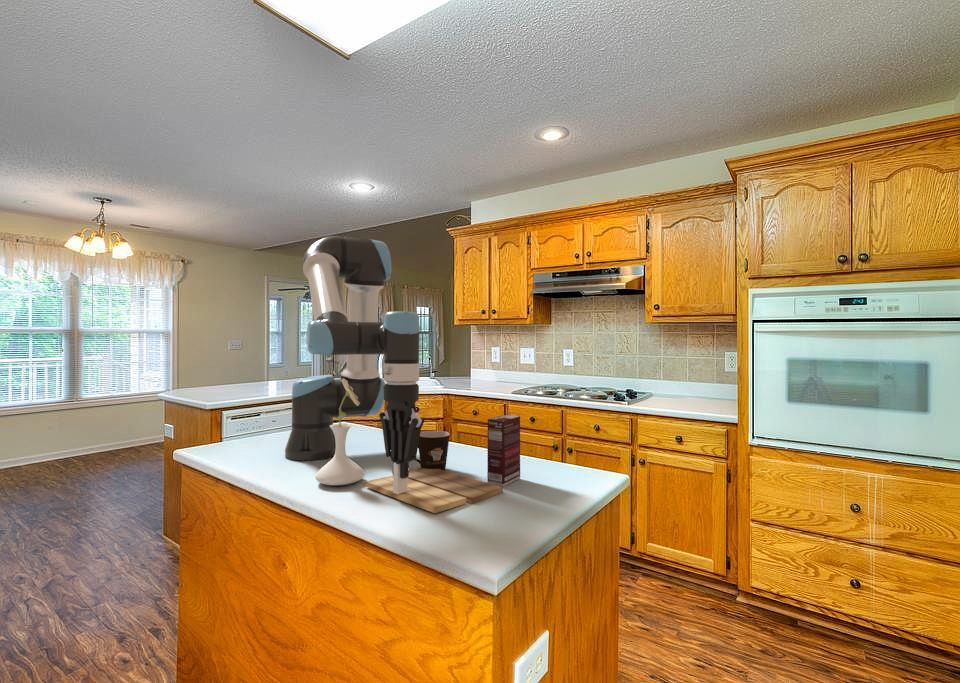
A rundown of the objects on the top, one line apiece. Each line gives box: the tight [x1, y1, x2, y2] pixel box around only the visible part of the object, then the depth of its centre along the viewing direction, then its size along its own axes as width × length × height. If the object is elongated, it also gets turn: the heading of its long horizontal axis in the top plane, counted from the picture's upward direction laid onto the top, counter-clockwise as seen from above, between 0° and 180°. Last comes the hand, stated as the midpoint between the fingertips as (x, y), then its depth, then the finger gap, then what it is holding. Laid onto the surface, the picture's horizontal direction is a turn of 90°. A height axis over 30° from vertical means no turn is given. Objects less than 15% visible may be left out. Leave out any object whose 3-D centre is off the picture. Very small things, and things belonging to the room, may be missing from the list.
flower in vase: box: [315, 378, 365, 486], centre depth 114 cm, size 13×11×25 cm
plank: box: [364, 475, 467, 514], centre depth 105 cm, size 24×9×1 cm, turn 48°
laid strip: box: [408, 466, 504, 505], centre depth 112 cm, size 26×10×1 cm, turn 48°
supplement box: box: [486, 414, 521, 488], centre depth 116 cm, size 9×5×16 cm, turn 146°
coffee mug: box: [414, 430, 451, 471], centre depth 125 cm, size 12×9×10 cm
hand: (400, 491), depth 101 cm, fingers closed
